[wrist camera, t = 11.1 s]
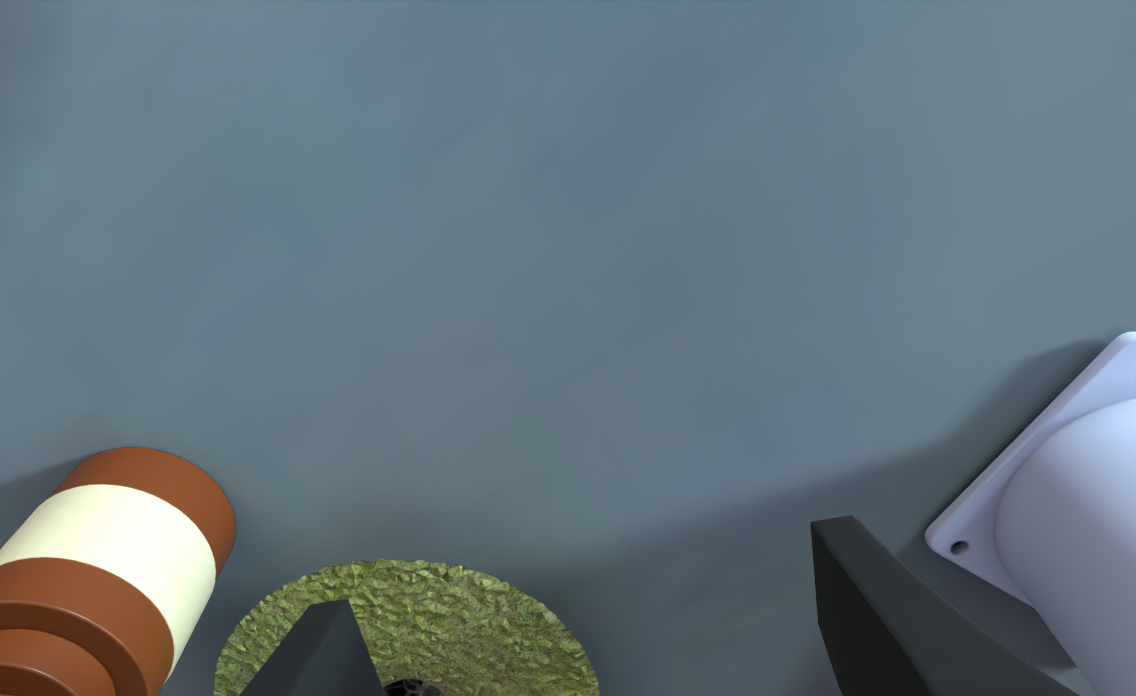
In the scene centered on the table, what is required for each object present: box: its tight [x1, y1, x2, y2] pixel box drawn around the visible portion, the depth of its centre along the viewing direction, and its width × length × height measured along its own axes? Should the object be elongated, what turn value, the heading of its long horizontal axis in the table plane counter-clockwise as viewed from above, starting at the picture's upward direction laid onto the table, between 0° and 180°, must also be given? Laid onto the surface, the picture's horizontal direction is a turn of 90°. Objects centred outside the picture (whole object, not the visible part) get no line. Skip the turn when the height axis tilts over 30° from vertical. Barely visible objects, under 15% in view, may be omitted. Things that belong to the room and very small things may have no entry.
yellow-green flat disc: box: [214, 559, 600, 696], centre depth 26 cm, size 11×11×2 cm
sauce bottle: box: [0, 447, 236, 696], centre depth 20 cm, size 5×5×9 cm
